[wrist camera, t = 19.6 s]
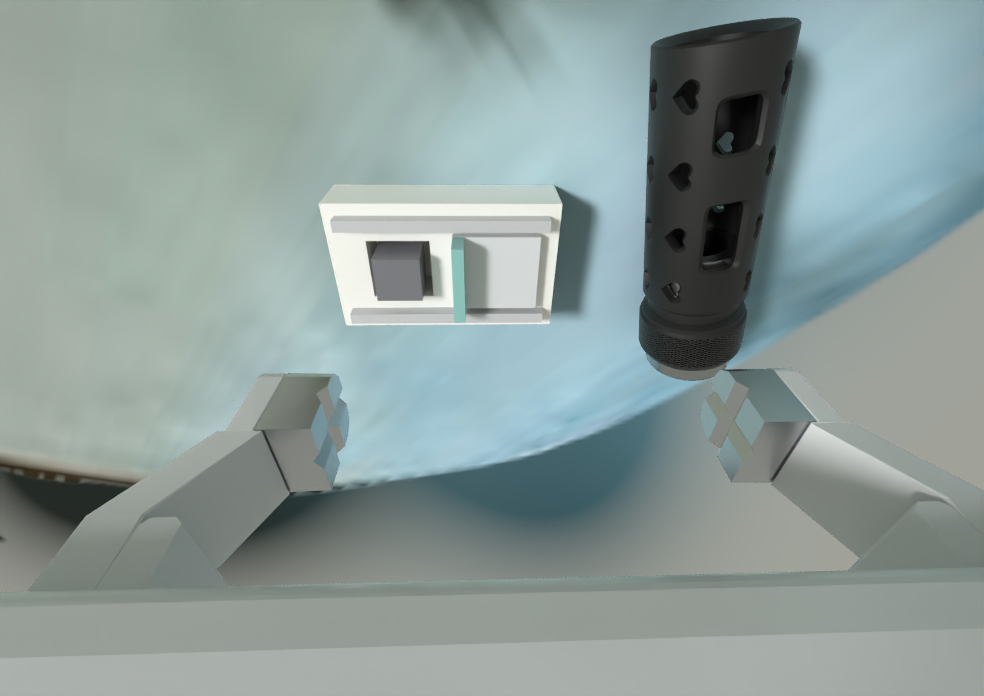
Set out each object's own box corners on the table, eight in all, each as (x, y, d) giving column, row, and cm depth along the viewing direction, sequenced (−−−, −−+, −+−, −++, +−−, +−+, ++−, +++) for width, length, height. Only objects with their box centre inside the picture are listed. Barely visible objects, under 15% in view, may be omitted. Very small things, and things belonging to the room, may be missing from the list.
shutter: (452, 233, 38) (450, 249, 35) (540, 233, 38) (544, 249, 35) (455, 303, 42) (454, 322, 39) (534, 303, 42) (538, 322, 40)
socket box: (334, 184, 40) (314, 208, 35) (554, 185, 41) (565, 209, 36) (357, 298, 47) (343, 332, 42) (543, 298, 48) (551, 330, 43)
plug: (382, 231, 42) (370, 259, 37) (425, 231, 42) (418, 259, 37) (388, 269, 44) (377, 300, 39) (428, 269, 44) (422, 300, 40)
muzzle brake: (753, 15, 34) (844, 16, 25) (709, 317, 50) (755, 377, 42) (626, 42, 34) (674, 52, 26) (625, 331, 51) (654, 392, 43)
